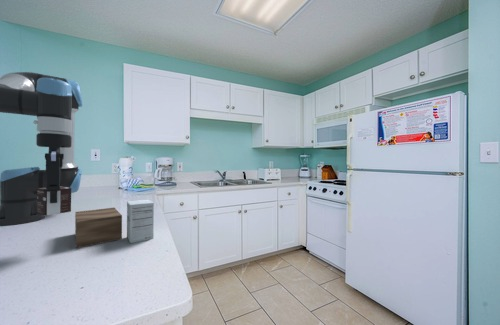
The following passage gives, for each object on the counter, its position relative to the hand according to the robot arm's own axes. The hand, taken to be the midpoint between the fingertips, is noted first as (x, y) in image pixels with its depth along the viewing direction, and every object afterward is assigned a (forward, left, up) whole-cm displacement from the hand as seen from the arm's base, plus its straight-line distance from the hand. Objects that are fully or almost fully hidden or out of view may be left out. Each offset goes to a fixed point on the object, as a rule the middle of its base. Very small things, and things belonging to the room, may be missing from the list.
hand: (54, 211), depth 62 cm
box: (0, 0, -1) cm, 1 cm away
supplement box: (+4, +22, -12) cm, 25 cm away
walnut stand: (-7, +11, -12) cm, 17 cm away
